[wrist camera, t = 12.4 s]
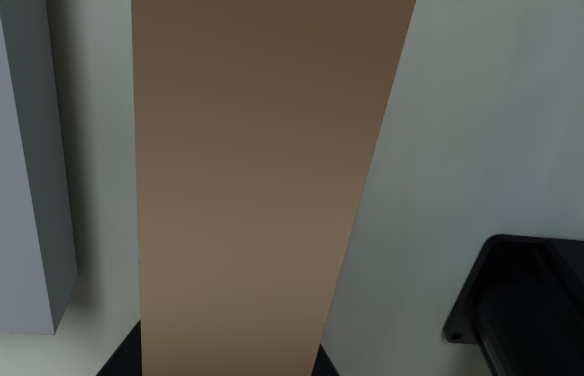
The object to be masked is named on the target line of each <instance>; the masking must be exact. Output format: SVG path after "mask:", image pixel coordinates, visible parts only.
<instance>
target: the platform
mask: <svg viewBox="0 0 584 376" xmlns="http://www.w3.org/2000/svg"><path fill="white" fill-rule="evenodd" d="M77 279H78V271H77V262H76V254H75V245H74V237H73V228H72V220H71V211H70V203H69V194H68V186H67V177H66V169H65V160H64V152H63V143H62V135H61V126H60V118H59V109H58V101H57V92H56V84H55V75H54V67H53V58H52V50H51V41H50V33H49V24H48V16H47V7H46V0H0V332H3V333H24V334H45V335H55V333H56V330H57V328H58V325H59V323H60V320H61V318H62V315H63V313H64V311H65V308H66V306H67V303H68V301H69V298H70V296H71V293H72V291H73V288H74V286H75V283H76V281H77Z"/></svg>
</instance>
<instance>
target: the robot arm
mask: <svg viewBox="0 0 584 376" xmlns="http://www.w3.org/2000/svg"><path fill="white" fill-rule="evenodd" d="M501 245H502V246H501ZM499 246H501V247H499ZM497 247H499V248H497ZM444 334H445V337H446V339H447V341H448V342H450V343H461V344H478V345H479V347H480V350H481V352H482V354H483V356H484V358H485V361H486V363H487V365H488V367H489V370H490V372H491V374H492V376H584V241H578V240H566V239H554V238H539V237H528V236H516V235H504V234H500V235H495V236H493V237H491V238H490V239H489V240H488V241H487V243H486V245H485V247H484V249H483V251H482V253H481V255H480V257H479V259H478V261H477V263H476V265H475V267H474V269H473V271H472V273H471V275H470V277H469V279H468V282H467V284H466V286H465V288H464V290H463V292H462V294H461V296H460V298H459V300H458V302H457V304H456V306H455V308H454V310H453V312H452V314H451V316H450V318H449V320H448V322H447V324H446V326H445V328H444ZM96 376H142V345H141V319H140V320H139V321H138V323H137V324H136V325H135V326H134V328H133V329H132V330H131V331H130V333H129V334H128V335H127V337H126V338H125V339H124V340H123V342H122V343H121V344H120V345H119V347H118V348H117V349H116V351H115V352H114V353H113V354H112V356H111V357H110V358H109V359H108V361H107V362H106V363H105V365H104V366H103V367H102V368H101V370H100V371H99V372H98V373H97V375H96ZM311 376H340V375H339V373H338V372H337V370H336V368H335V367H334V365H333V363H332V362H331V360H330V358H329V357H328V355H327V353H326V352H325V350H324V348H323V347H322V345H321V343H320V345H319V349H318V352H317V356H316V359H315V363H314V367H313V370H312V374H311Z"/></svg>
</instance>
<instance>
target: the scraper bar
mask: <svg viewBox="0 0 584 376" xmlns="http://www.w3.org/2000/svg"><path fill="white" fill-rule="evenodd" d="M415 2H416V0H131V12H132V45H133V79H134V112H135V145H136V179H137V212H138V245H139V278H140V312H141V345H142V376H311V374H312V370H313V367H314V363H315V359H316V356H317V352H318V349H319V345H320V342H321V338H322V334H323V331H324V327H325V324H326V320H327V317H328V313H329V309H330V306H331V302H332V299H333V295H334V292H335V288H336V284H337V281H338V277H339V274H340V270H341V266H342V263H343V259H344V256H345V252H346V249H347V245H348V241H349V238H350V234H351V231H352V227H353V224H354V220H355V216H356V213H357V209H358V206H359V202H360V199H361V195H362V191H363V188H364V184H365V181H366V177H367V174H368V170H369V166H370V163H371V159H372V156H373V152H374V149H375V145H376V141H377V138H378V134H379V131H380V127H381V124H382V120H383V116H384V113H385V109H386V106H387V102H388V99H389V95H390V91H391V88H392V84H393V81H394V77H395V74H396V70H397V66H398V63H399V59H400V56H401V52H402V49H403V45H404V41H405V38H406V34H407V31H408V27H409V24H410V20H411V16H412V13H413V9H414V6H415Z"/></svg>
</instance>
